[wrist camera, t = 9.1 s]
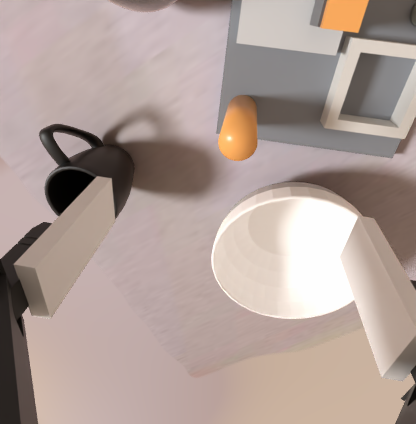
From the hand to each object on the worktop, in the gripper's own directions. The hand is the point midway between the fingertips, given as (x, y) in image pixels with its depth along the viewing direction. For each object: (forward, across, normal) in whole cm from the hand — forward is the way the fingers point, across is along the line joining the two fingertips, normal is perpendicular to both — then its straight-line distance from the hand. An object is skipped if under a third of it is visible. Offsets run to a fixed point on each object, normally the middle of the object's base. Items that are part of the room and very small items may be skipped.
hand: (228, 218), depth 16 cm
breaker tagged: (+18, +6, +10) cm, 22 cm away
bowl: (+23, +8, -15) cm, 29 cm away
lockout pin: (+21, 0, 0) cm, 21 cm away
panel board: (+23, +8, +7) cm, 25 cm away
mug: (+23, -16, -8) cm, 29 cm away
